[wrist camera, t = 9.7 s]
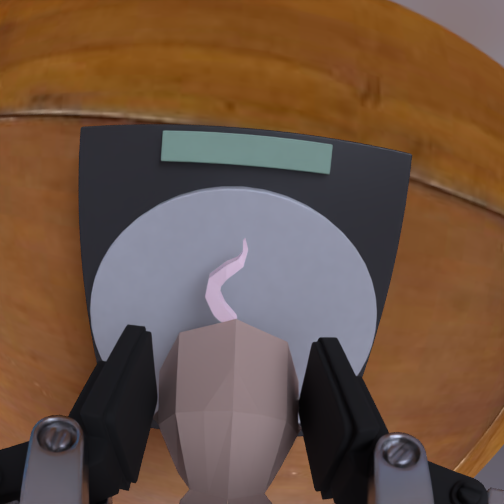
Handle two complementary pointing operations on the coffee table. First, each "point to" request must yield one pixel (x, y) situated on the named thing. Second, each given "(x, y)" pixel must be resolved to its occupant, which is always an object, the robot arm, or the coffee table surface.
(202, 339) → the mouse figurine
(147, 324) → the kitchen scale
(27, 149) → the coffee table surface
